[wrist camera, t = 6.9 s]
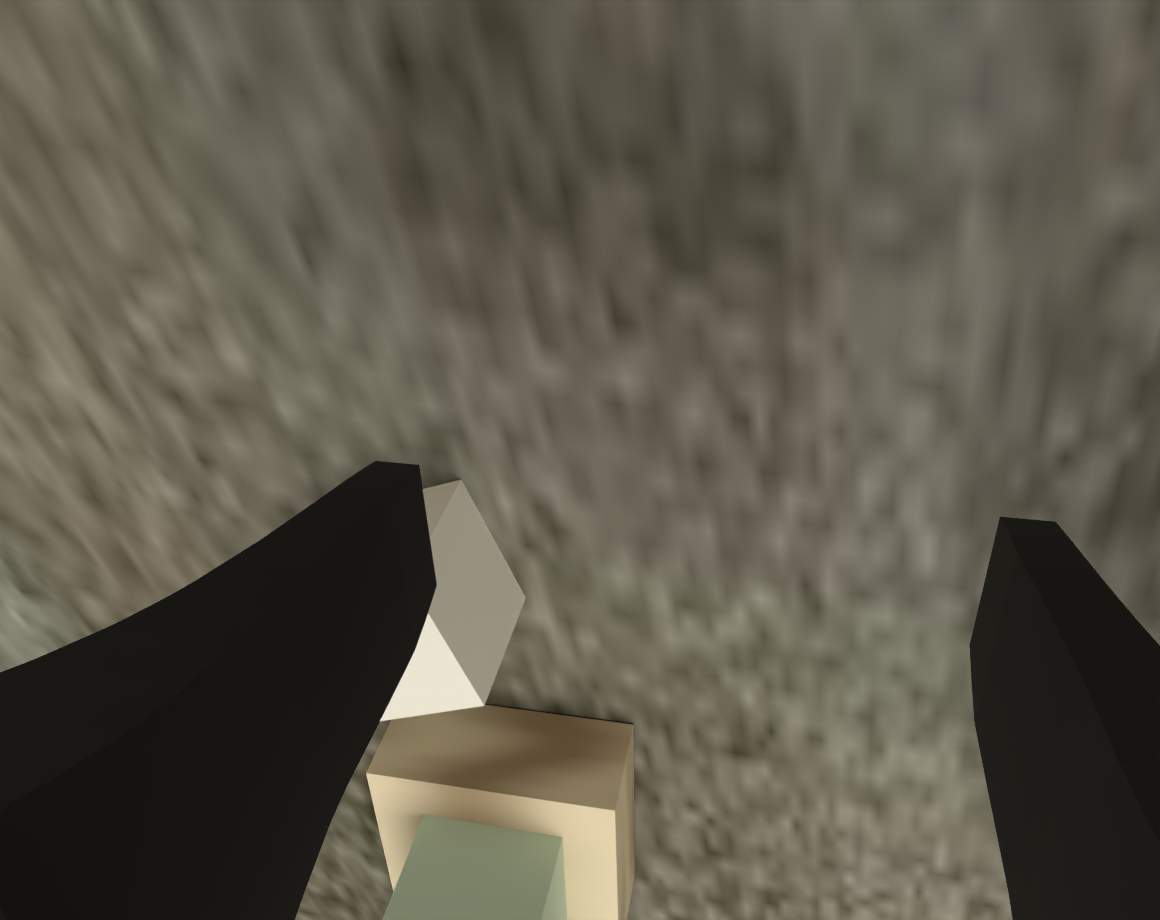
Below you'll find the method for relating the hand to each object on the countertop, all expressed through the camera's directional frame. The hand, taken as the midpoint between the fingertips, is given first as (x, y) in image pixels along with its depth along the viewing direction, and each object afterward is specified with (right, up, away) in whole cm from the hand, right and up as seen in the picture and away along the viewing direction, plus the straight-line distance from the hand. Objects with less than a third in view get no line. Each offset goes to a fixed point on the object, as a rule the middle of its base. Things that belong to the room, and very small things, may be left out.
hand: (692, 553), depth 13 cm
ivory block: (-5, -1, +15) cm, 16 cm away
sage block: (-4, -11, +17) cm, 20 cm away
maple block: (-3, -9, +19) cm, 21 cm away
